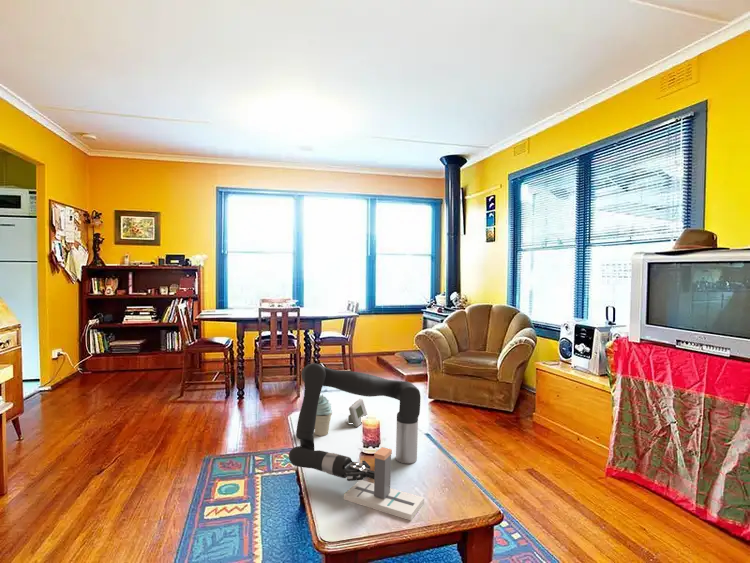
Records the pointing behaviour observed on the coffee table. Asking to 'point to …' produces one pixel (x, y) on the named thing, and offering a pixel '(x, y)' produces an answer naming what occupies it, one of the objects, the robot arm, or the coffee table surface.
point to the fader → (382, 472)
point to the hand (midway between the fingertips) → (377, 476)
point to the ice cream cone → (323, 416)
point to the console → (385, 500)
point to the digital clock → (357, 412)
